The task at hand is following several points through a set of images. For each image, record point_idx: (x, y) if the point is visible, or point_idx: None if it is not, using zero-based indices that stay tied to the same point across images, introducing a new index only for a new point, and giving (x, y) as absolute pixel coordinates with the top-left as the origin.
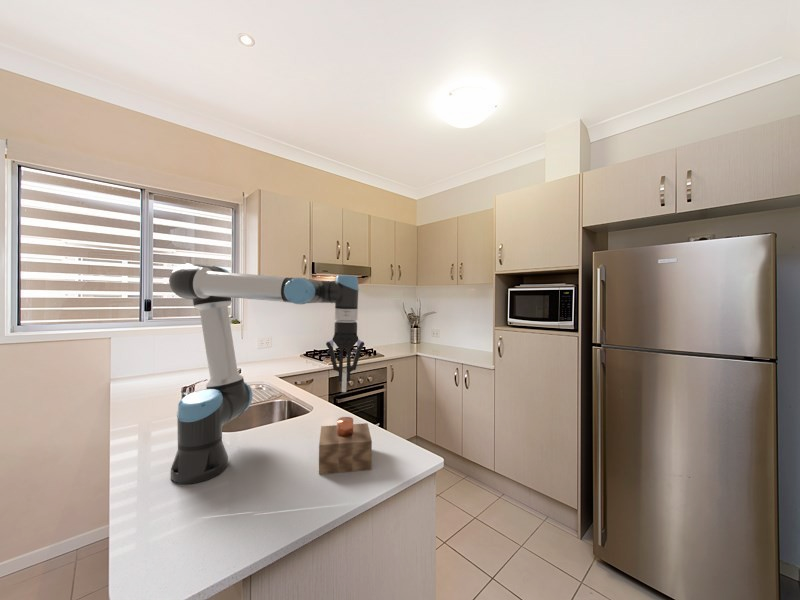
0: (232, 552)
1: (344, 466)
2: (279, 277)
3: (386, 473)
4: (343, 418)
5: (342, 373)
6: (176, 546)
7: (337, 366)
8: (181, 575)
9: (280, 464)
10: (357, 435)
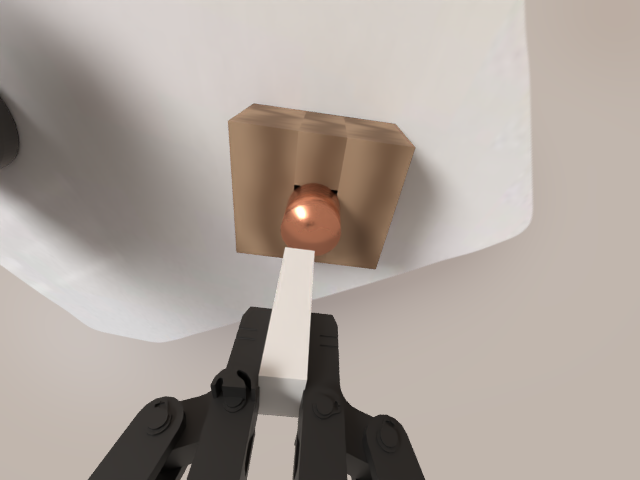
0: (173, 319)
1: None
2: None
3: (392, 244)
4: (305, 220)
5: (260, 406)
6: (101, 299)
7: (183, 449)
8: (137, 328)
9: (152, 139)
10: (347, 231)
